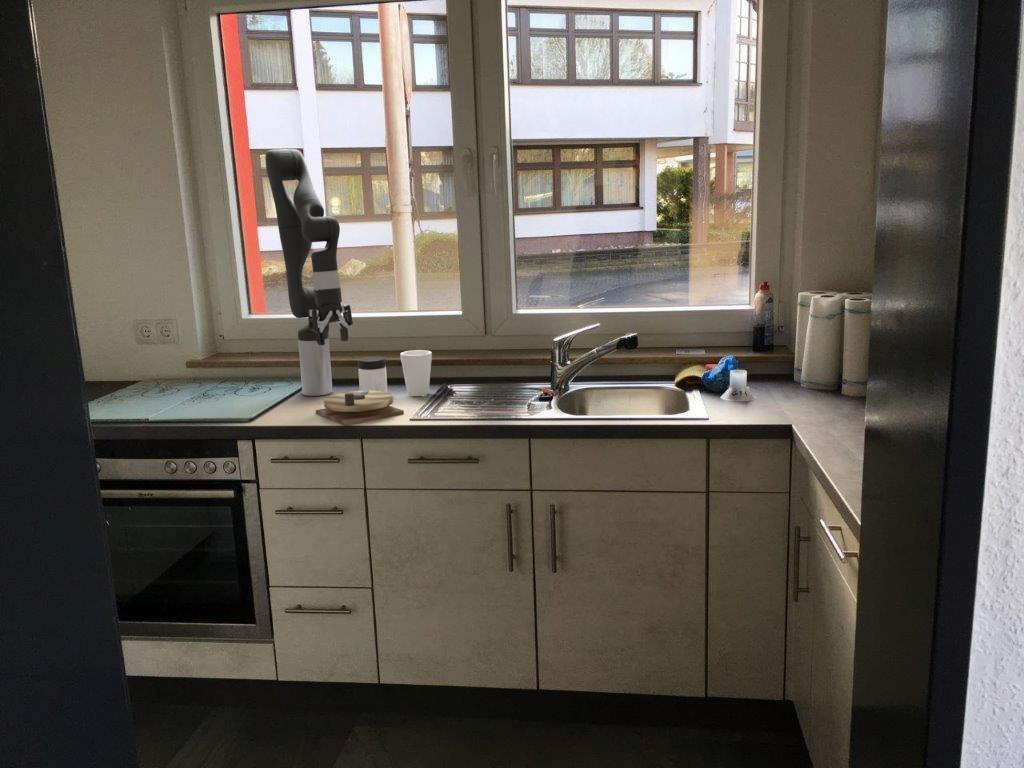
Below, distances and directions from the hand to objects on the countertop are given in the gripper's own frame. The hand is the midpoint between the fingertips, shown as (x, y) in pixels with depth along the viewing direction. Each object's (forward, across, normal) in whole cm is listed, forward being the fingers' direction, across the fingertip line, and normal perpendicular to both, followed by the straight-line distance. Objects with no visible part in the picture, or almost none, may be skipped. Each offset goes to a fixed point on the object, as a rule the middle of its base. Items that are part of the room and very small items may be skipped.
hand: (333, 343), depth 242 cm
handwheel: (+16, +4, +13) cm, 21 cm away
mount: (+19, +4, +13) cm, 24 cm away
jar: (+19, -12, +2) cm, 22 cm away
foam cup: (+19, -22, +10) cm, 31 cm away
